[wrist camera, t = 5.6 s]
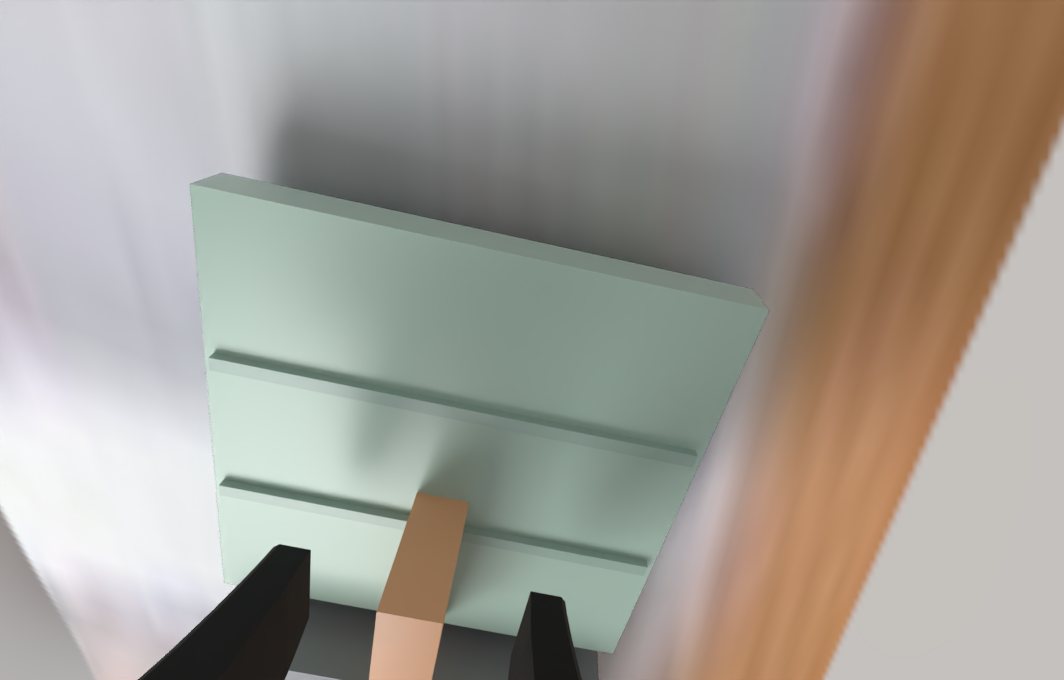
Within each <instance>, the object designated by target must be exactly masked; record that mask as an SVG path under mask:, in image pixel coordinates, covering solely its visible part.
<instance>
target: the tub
mask: <svg viewBox="0 0 1064 680" xmlns="http://www.w3.org/2000/svg"><path fill="white" fill-rule="evenodd" d="M376 613H377V611H376V610H370V609H365V608H359V607H354V606H348V605H343V604H338V603H332V602H327V601H321V600H316V599H310V604H309V619H308V622H307V624H306V627H305V630H304V632H303V635H302V638H301V640H300V643H299V646H298V648H297V651H296V653H295V656H294V658H293V661H292V663H291V666H290V668H289V671H288V673H287V676H286V678H285V680H369V674H370V665H371V656H372V647H373V639H374V630H375V621H376ZM516 637H517V636H512V635H507V634H501V633H496V632H490V631H485V630H479V629H474V628H468V627H463V626H457V625H452V624H447V623H444V626H443V630H442V635H441V640H440V644H439V649H438V654H437V659H436V663H435V668H434V673H433V677H432V680H508V675H509V667H510V659H511V653H512V650H513V646H514V643H515V640H516ZM574 650H575V654H576V658H577V662H578V666H579V670H580V674H581V678H582V680H598V663H597V651H594V650H588V649H583V648H577V647H574Z"/></svg>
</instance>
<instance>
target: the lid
mask: <svg viewBox="0 0 1064 680" xmlns="http://www.w3.org/2000/svg"><path fill="white" fill-rule="evenodd" d="M190 194H191V206H192V217H193V229H194V241H195V252H196V264H197V275H198V287H199V299H200V310H201V322H202V334H203V345H204V357H205V369H206V380H207V392H208V404H209V415H210V427H211V438H212V450H213V462H214V473H215V485H216V497H217V508H218V520H219V532H220V543H221V555H222V566H223V578H224V583H228V584H234V585H239V583H240V582H241V581H242V580H243V579H244V578H245V577H246V576H247V575H248V574H249V573H250V572H251V571H252V570H253V569H254V568H255V567H256V566H257V564H258V563H259V562H260V561H261V560H262V559H263V558H264V557H265V556H266V555H267V554H268V552H269V551H270V550H271V549H272V548H273V547H275V546H276V545H278V544H282V545H287V546H292V547H298V548H303V549H308V550H311V564H310V599H316V600H321V601H327V602H332V603H338V604H343V605H348V606H354V607H359V608H365V609H370V610H376V611H377V613H376V621H375V630H374V639H373V647H372V656H371V665H370V674H369V680H432V677H433V673H434V668H435V663H436V659H437V654H438V649H439V644H440V640H441V635H442V630H443V626H444V623H447V624H452V625H457V626H463V627H468V628H474V629H479V630H485V631H490V632H496V633H501V634H507V635H512V636H517V634H518V630H519V627H520V624H521V621H522V618H523V614H524V611H525V608H526V605H527V601H528V598H529V595H530V592H531V591H532V592H538V593H543V594H548V595H554V596H559V597H562V599H563V600H564V601H565V604H566V611H567V616H568V622H569V627H570V632H571V637H572V641H573V645H574V647H577V648H583V649H588V650H594V651H599V652H605V653H610V654H613V653H614V650H615V648H616V646H617V644H618V642H619V640H620V637H621V635H622V633H623V631H624V629H625V626H626V624H627V622H628V620H629V618H630V615H631V613H632V611H633V609H634V607H635V604H636V602H637V600H638V598H639V596H640V593H641V591H642V589H643V587H644V585H645V582H646V580H647V578H648V576H649V574H650V571H651V569H652V567H653V565H654V563H655V560H656V558H657V556H658V554H659V552H660V550H661V547H662V545H663V543H664V541H665V539H666V536H667V534H668V532H669V530H670V528H671V525H672V523H673V521H674V519H675V517H676V514H677V512H678V510H679V508H680V506H681V503H682V501H683V499H684V497H685V495H686V492H687V490H688V488H689V486H690V484H691V481H692V479H693V477H694V475H695V473H696V470H697V468H698V466H699V464H700V462H701V459H702V457H703V455H704V453H705V451H706V449H707V446H708V444H709V442H710V440H711V438H712V435H713V433H714V431H715V429H716V427H717V424H718V422H719V420H720V418H721V416H722V413H723V411H724V409H725V407H726V405H727V402H728V400H729V398H730V396H731V394H732V391H733V389H734V387H735V385H736V383H737V380H738V378H739V376H740V374H741V372H742V369H743V367H744V365H745V363H746V361H747V359H748V356H749V354H750V352H751V350H752V348H753V345H754V343H755V341H756V339H757V337H758V334H759V332H760V330H761V328H762V326H763V323H764V321H765V319H766V317H767V315H768V312H769V309H768V307H767V306H766V305H765V304H764V302H763V301H762V300H761V299H760V297H759V296H758V295H757V294H756V292H755V291H754V290H753V289H751V288H746V287H742V286H737V285H732V284H728V283H723V282H719V281H714V280H710V279H705V278H701V277H696V276H691V275H687V274H682V273H678V272H673V271H669V270H664V269H659V268H655V267H650V266H646V265H641V264H637V263H632V262H627V261H623V260H618V259H614V258H609V257H605V256H600V255H595V254H591V253H586V252H582V251H577V250H573V249H568V248H563V247H559V246H554V245H550V244H545V243H541V242H536V241H532V240H527V239H522V238H518V237H513V236H509V235H504V234H500V233H495V232H490V231H486V230H481V229H477V228H472V227H468V226H463V225H458V224H454V223H449V222H445V221H440V220H436V219H431V218H426V217H422V216H417V215H413V214H408V213H404V212H399V211H395V210H390V209H385V208H381V207H376V206H372V205H367V204H363V203H358V202H353V201H349V200H344V199H340V198H335V197H331V196H326V195H321V194H317V193H312V192H308V191H303V190H299V189H294V188H289V187H285V186H280V185H276V184H271V183H267V182H262V181H257V180H253V179H248V178H244V177H239V176H235V175H230V174H226V173H220V174H217V175H214V176H211V177H208V178H205V179H202V180H199V181H196V182H194V183H191V184H190Z"/></svg>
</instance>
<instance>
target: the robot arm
mask: <svg viewBox="0 0 1064 680" xmlns="http://www.w3.org/2000/svg"><path fill="white" fill-rule="evenodd" d="M310 564H311V550H308V549H303V548H298V547H292V546H287V545H282V544H278V545H276V546H275V547H273V548H272V549H271V550H270V551H269V552H268V554H267V555H266V556H265V557H264V558H263V559H262V560H261V561H260V562H259V563H258V564H257V566H256V567H255V568H254V569H253V570H252V571H251V572H250V573H249V574H248V575H247V576H246V577H245V578H244V579H243V580H242V581H241V582H240V583H239V585H238V586H237V587H236V588H235V589H234V590H233V591H232V592H231V593H230V594H229V595H228V596H227V597H226V598H225V599H224V600H223V601H222V602H221V603H220V604H219V605H218V606H217V607H216V608H215V609H214V610H213V611H212V612H211V613H210V614H209V615H208V616H206V617H205V618H204V619H203V620H202V621H201V622H200V623H199V624H198V625H197V626H196V627H195V628H194V629H193V630H192V631H191V632H190V633H189V634H188V635H187V636H186V637H184V638H183V639H182V640H181V641H180V642H179V643H178V644H177V645H176V646H175V647H174V648H173V649H172V650H171V651H170V652H169V653H167V654H166V655H165V656H164V657H163V658H162V659H161V660H160V661H159V662H157V663H156V664H155V665H154V666H153V667H152V668H151V669H149V670H148V671H147V672H146V673H145V674H144V675H143V676H142V677H140V678H139V679H138V680H285V678H286V676H287V673H288V671H289V668H290V666H291V663H292V661H293V658H294V656H295V653H296V651H297V648H298V646H299V643H300V640H301V638H302V635H303V632H304V630H305V627H306V624H307V622H308V619H309V604H310ZM508 680H582V678H581V674H580V670H579V666H578V662H577V658H576V654H575V650H574V645H573V641H572V637H571V632H570V627H569V622H568V616H567V611H566V604H565V601H564V600H563V599H562V597H559V596H554V595H548V594H543V593H538V592H532V591H531V592H530V595H529V598H528V601H527V605H526V608H525V611H524V614H523V618H522V621H521V624H520V627H519V630H518V634H517V637H516V640H515V643H514V646H513V650H512V653H511V659H510V667H509V675H508Z"/></svg>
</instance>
